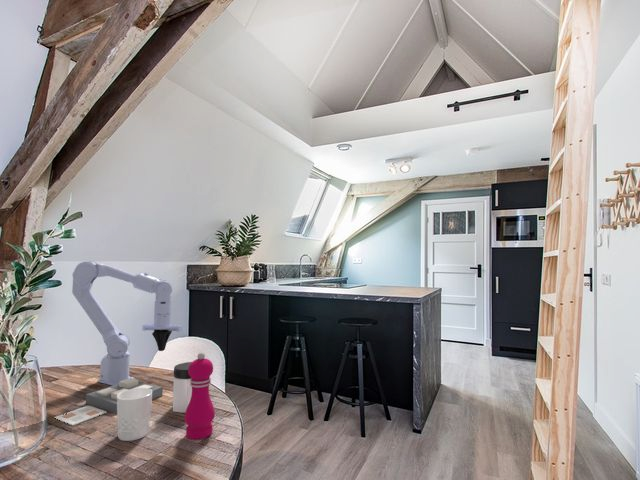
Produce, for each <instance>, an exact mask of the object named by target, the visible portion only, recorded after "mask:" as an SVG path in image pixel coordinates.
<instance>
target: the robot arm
mask: <svg viewBox="0 0 640 480" xmlns="http://www.w3.org/2000/svg"><path fill="white" fill-rule="evenodd" d="M71 275H72V288H71V291H72V292H71V293H72V295H73V296H74V298H75V299H76V301H77V302H78V304H79V305H80V307H82V309H83V311H84V312H85V314H87V316H88V318H89V319H90V320H91V323H93V325H94V326H95V328H96V330H97V331H98V332H99V333H100V335H101V337H102V340H103V342H104V344H105V346H106V352H107V354H106V355H105V356H104V357H102V358H101V360H100V371H99V379H97V383H98V382H99V383H102V384H105V385H108V386H114V385H117V384H119V382H120V381H123V380H126V379H129V378H133V379H136V378H135V377H132V376H130V365H131V364H130V362H131V361H130V360H131V359H130V358H131V353H130V351H129V350H128V348H129V345H130V344H131V343H130V340H131V339H130V338H129V337H128V335H126V334H124V333H122V331H121V329H119V328H118V327H117V326H116V324H114V322H113V321H112V319H111V318H110V316H109V315H108V313H107V312H106V310H105V309H104V307H103V306H102V305H101V303H100V302H99V301H98V299H97V298H96V296H95V294H94V293H93V292H92V287H93V284H94V283H95V280H96V279H97V278H101V277H102V278H104V277H111V278H114V279H118V280H120V281H124V282H128V283H130V284H132V286H133V288H134V289H136V290H139V291H143V292H147V293H149V294H155V300H154V308H153V309H154V312H153V313H154V316H153V324H152V323H151V324H147V323H146V324H143V325H142V329H141V331H144V332H145V331H153V332H152V333H151V334H152V336H153V339H154V340H155V343H156V345H157V350H158V352H163V351H165V350H166V346H167V342H168V340H169V338H170V336H171V334H172V332H178V333H179V332H182V331H183V325H182V324H181V325H180V324H171V322H172V321H171V320H172V300H171V299H172V293H173V287H172V285H171V284H170V282H168V281H166V280H162V278H160V277H154V276H152V275H149V273H147V272H144V273H142V272H140V273H138V274H134V273H132V272H129V271H127V270H123V269H120V268H118V267H115V266H113V265H109V264H106V263H101V262H95V261H93V260H92V261H91V260H90V261H82V262H79V263H78V264H76V267H75V268H74V271H73V272H72V274H71Z"/></svg>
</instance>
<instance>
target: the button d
mask: <svg viewBox="0 0 640 480" xmlns="http://www.w3.org/2000/svg"><path fill="white" fill-rule="evenodd" d="M136 388H148V389H153V387H152V386H149V385H145V384H144V385H142V386H139V387H136ZM133 389H135V388H133Z"/></svg>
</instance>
